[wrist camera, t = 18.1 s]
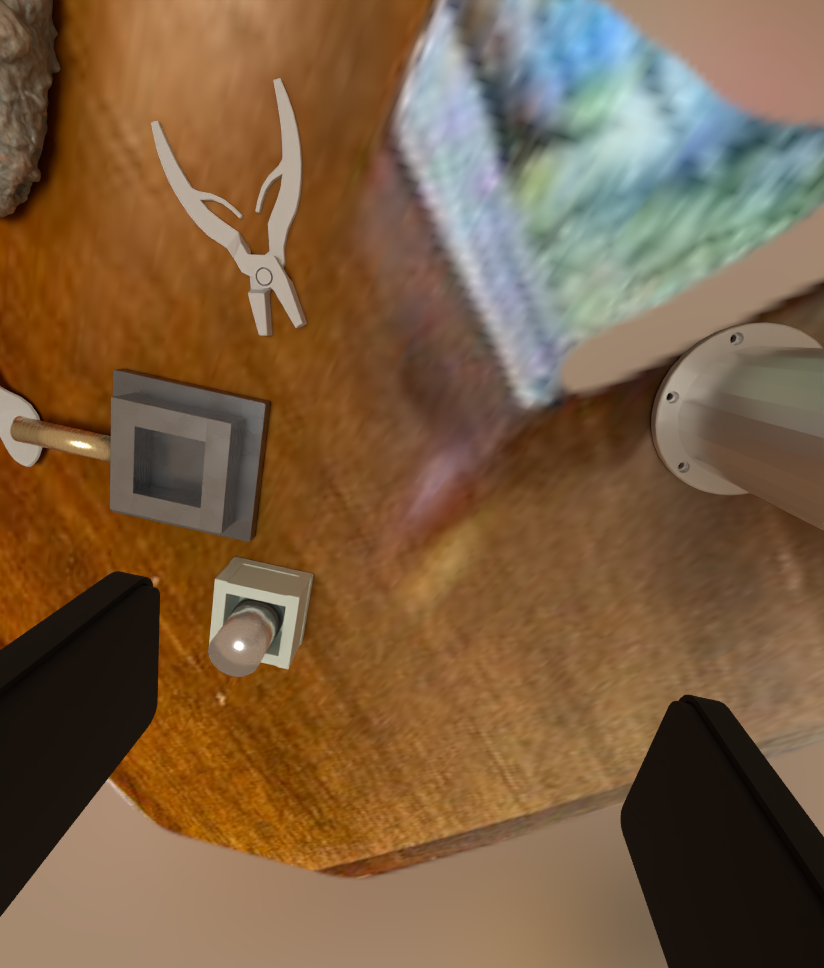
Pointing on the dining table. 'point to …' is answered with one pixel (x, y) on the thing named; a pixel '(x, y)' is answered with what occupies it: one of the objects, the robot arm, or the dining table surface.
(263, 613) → the beige round-topped cylinder
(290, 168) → the pliers
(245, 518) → the grey square pan
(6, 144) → the elongated rock
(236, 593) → the pale square socket block
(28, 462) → the spoon
